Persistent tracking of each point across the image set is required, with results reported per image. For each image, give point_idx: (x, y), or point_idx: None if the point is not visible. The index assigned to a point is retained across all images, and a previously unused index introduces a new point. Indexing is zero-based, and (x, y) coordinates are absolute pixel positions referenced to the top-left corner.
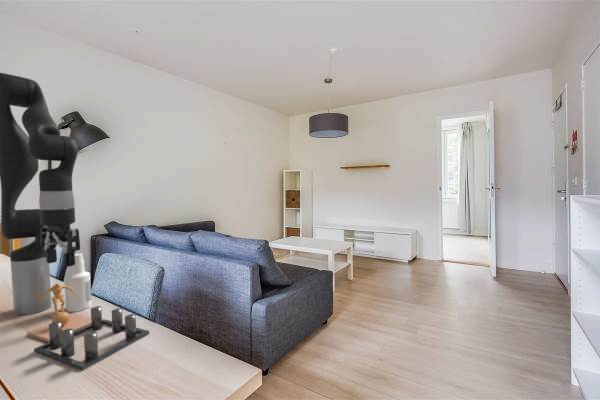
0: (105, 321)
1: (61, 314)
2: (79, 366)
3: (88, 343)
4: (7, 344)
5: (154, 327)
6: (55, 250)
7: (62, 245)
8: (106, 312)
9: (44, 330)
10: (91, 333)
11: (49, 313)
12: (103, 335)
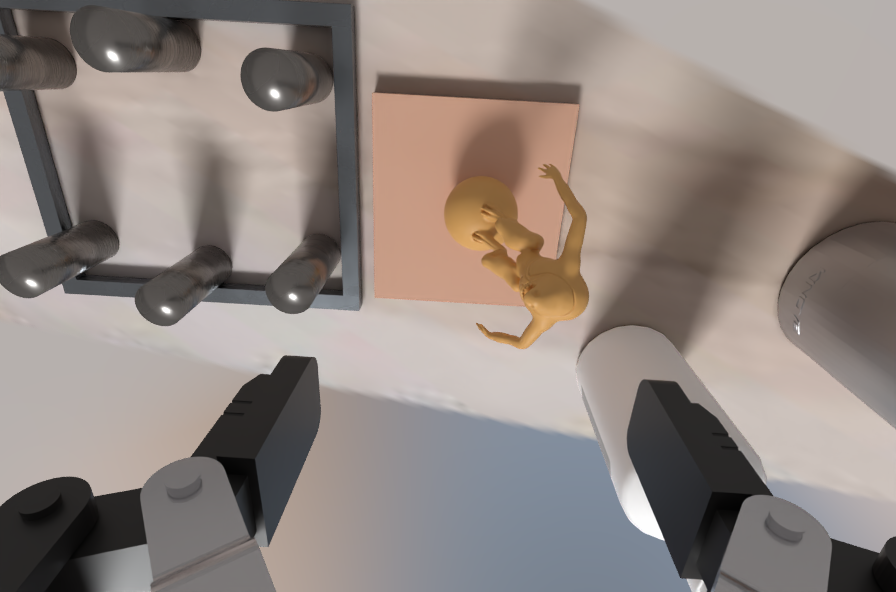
0: (326, 297)
1: (461, 214)
2: None
3: None
4: (568, 3)
5: (112, 331)
6: (675, 554)
7: (176, 571)
8: (445, 368)
9: (510, 145)
10: None
11: (713, 286)
12: (229, 219)
